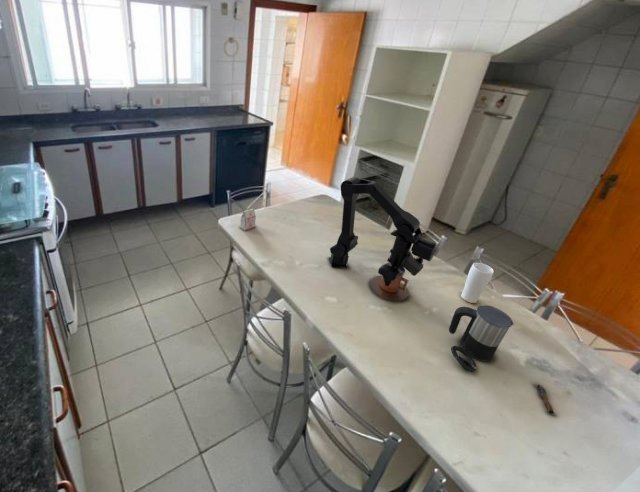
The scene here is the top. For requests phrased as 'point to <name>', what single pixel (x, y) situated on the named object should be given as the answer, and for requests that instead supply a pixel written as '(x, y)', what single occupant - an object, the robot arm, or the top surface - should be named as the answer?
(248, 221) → the milk carton
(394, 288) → the orange mug
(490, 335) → the milk frother
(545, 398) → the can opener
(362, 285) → the top surface
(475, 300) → the drinking glass
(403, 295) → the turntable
